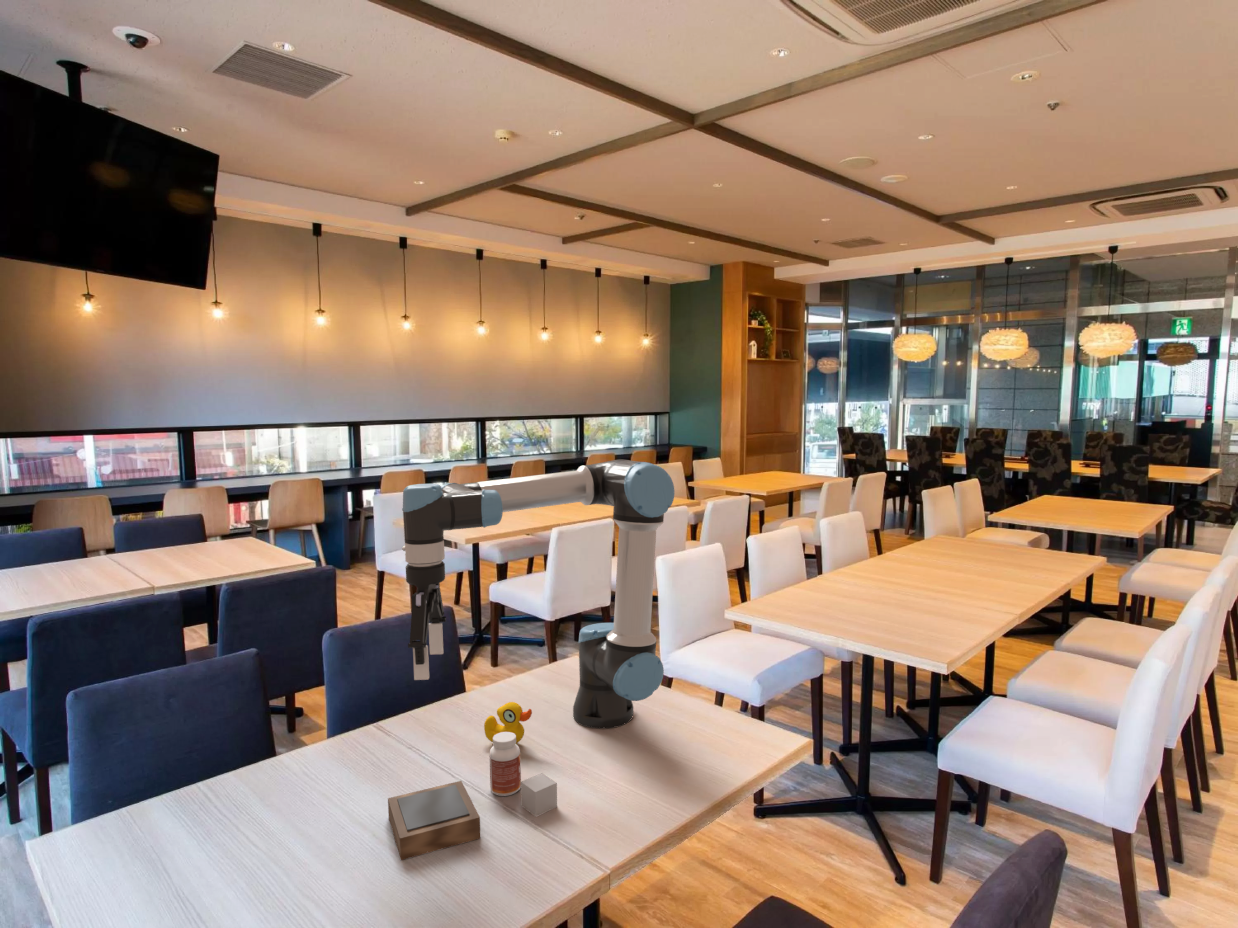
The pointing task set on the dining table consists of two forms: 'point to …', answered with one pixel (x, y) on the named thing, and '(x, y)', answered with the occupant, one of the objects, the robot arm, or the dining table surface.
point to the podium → (433, 819)
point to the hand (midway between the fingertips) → (429, 665)
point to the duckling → (507, 721)
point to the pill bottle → (505, 764)
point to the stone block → (538, 794)
